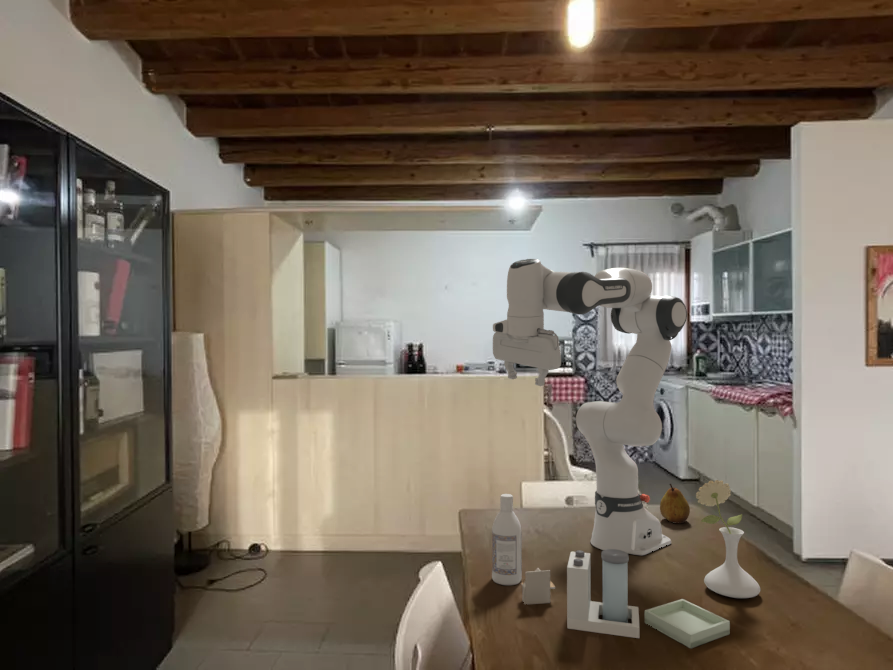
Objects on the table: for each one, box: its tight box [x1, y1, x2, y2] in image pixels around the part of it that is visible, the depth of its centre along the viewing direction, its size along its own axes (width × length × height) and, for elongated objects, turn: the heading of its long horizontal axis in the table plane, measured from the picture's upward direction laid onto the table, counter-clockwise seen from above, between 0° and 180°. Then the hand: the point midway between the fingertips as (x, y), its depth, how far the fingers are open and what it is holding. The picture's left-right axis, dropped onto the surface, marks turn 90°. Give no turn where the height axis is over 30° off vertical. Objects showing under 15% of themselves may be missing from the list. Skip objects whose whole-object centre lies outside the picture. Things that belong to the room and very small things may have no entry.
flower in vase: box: [695, 479, 761, 599], centre depth 132 cm, size 13×11×25 cm
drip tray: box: [644, 598, 731, 649], centre depth 116 cm, size 11×11×2 cm
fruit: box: [659, 483, 691, 524], centre depth 183 cm, size 9×9×12 cm
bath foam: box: [491, 493, 523, 586], centre depth 139 cm, size 7×7×20 cm
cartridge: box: [600, 549, 629, 623], centre depth 117 cm, size 5×5×14 cm
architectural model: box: [520, 567, 556, 605], centre depth 128 cm, size 3×7×8 cm, turn 99°
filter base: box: [566, 549, 640, 639], centre depth 118 cm, size 14×9×13 cm, turn 73°
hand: (525, 381), depth 145 cm, fingers open, 8 cm apart
